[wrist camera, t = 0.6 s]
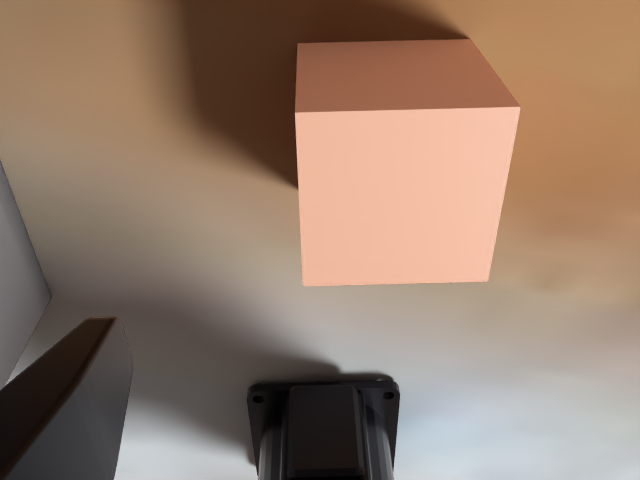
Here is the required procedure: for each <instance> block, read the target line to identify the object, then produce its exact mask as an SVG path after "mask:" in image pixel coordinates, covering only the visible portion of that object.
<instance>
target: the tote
mask: <svg viewBox="0 0 640 480" xmlns="http://www.w3.org/2000/svg"><path fill="white" fill-rule="evenodd" d="M50 299H51V295H50V292H49V290H48V287H47V284H46V282H45V279H44V276H43V274H42V271H41V268H40V266H39V263H38V260H37V258H36V255H35V252H34V250H33V247H32V244H31V242H30V239H29V236H28V233H27V231H26V228H25V225H24V223H23V220H22V217H21V215H20V212H19V209H18V207H17V204H16V201H15V199H14V196H13V193H12V191H11V188H10V185H9V183H8V180H7V177H6V175H5V172H4V169H3V167H2V164H1V161H0V390H1V389H2V388H3V387H4V386H5V384H6V382H7V380H8V379H9V377H10V375H11V373H12V371H13V369H14V367H15V365H16V363H17V362H18V360H19V358H20V356H21V354H22V352H23V350H24V348H25V346H26V345H27V343H28V341H29V339H30V337H31V335H32V333H33V331H34V329H35V328H36V326H37V324H38V322H39V320H40V318H41V316H42V314H43V312H44V311H45V309H46V307H47V305H48V303H49V301H50Z"/></svg>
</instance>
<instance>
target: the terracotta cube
mask: <svg viewBox="0 0 640 480" xmlns="http://www.w3.org/2000/svg"><path fill="white" fill-rule="evenodd" d="M520 108H521V107H520V105H519V104H518V102H517V101H516V100H515V98H514V97H513V96H512V94H511V93H510V92H509V90H508V89H507V88H506V86H505V85H504V83H503V82H502V81H501V79H500V78H499V77H498V75H497V74H496V73H495V71H494V70H493V69H492V67H491V66H490V64H489V63H488V62H487V60H486V59H485V58H484V56H483V55H482V54H481V52H480V51H479V50H478V48H477V47H476V46H475V44H474V43H473V41H472V40H471V39H447V40H407V41H368V42H328V43H298V46H297V72H296V98H295V124H296V146H297V167H298V189H299V210H300V232H301V253H302V275H303V286H331V285H369V284H406V283H443V282H481V281H488V278H489V273H490V267H491V262H492V257H493V251H494V246H495V241H496V235H497V230H498V225H499V220H500V214H501V209H502V204H503V198H504V193H505V188H506V182H507V177H508V172H509V166H510V161H511V156H512V151H513V145H514V140H515V135H516V129H517V124H518V119H519V113H520Z"/></svg>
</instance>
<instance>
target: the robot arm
mask: <svg viewBox="0 0 640 480" xmlns="http://www.w3.org/2000/svg"><path fill="white" fill-rule="evenodd" d="M132 369H133V366H132V357H131V354H130V350H129V347H128V343H127V340H126V336H125V333H124V329H123V326H122V323H121V321H120V320H119V319H118V318H117V317H114V316H107V317H91V318H88V319H86V320H84V321H83V322H82V323H81V324H79V325H78V326H77V327H76V328H75V329H73V330H72V331H71V332H70V333H69V334H67V335H66V336H65V337H64V338H62V339H61V340H60V341H59V342H58V343H56V344H55V345H54V346H53V347H52V348H50V349H49V350H48V351H47V352H46V353H44V354H43V355H42V356H41V357H39V358H38V359H37V360H36V361H35V362H33V363H32V364H31V365H30V366H29V367H27V368H26V369H25V370H24V371H23V372H21V373H20V374H19V375H18V376H16V377H15V378H14V379H13V380H12V381H10V382H9V383H8V384H7V385H6V386H4V387H3V388H2V389H1V390H0V480H114V476H115V471H116V466H117V461H118V455H119V449H120V444H121V438H122V432H123V426H124V420H125V414H126V408H127V402H128V396H129V390H130V384H131V378H132ZM257 395H260V396H257ZM399 401H400V392H399V386H398V384H397V383H396V382H393V381H388V380H387V381H351V382H315V383H279V384H256V385H253V386H251V387H250V388H249V389H248V394H247V404H248V411H249V418H250V425H251V433H252V440H253V447H254V454H255V462H256V469H257V475H258V480H394V477H393V468H394V457H395V446H396V435H397V424H398V413H399Z"/></svg>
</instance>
